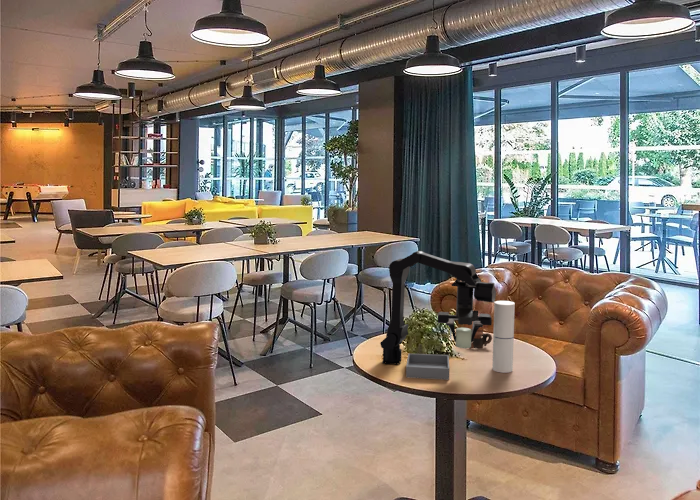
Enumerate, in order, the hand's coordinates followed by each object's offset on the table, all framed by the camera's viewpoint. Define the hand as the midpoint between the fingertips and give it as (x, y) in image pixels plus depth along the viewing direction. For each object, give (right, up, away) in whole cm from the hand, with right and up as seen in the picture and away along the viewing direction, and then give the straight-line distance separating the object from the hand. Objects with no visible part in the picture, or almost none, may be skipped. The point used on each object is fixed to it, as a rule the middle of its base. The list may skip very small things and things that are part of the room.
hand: (463, 341), depth 202 cm
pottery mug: (+13, -8, +34) cm, 37 cm away
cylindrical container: (+15, -11, +5) cm, 20 cm away
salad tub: (0, -2, 0) cm, 2 cm away
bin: (-12, -11, +3) cm, 17 cm away
